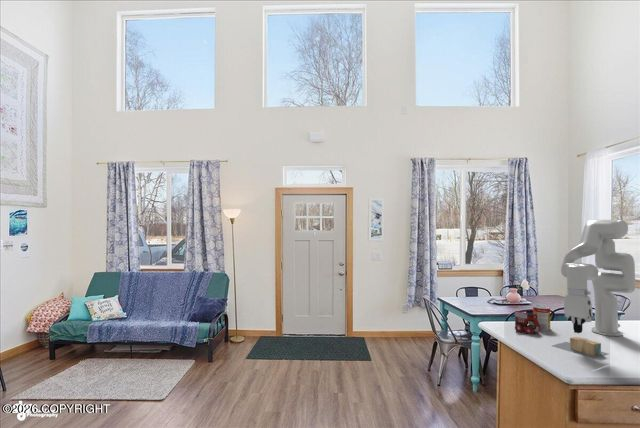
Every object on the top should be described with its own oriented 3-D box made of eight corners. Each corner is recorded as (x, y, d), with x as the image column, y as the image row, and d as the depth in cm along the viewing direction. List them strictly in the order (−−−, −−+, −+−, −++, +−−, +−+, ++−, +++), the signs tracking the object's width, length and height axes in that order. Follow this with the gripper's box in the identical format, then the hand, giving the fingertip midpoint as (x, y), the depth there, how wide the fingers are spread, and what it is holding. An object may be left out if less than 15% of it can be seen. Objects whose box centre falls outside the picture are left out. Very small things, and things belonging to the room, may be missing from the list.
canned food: (547, 327, 200) (546, 305, 200) (552, 331, 192) (552, 308, 193) (531, 326, 202) (531, 304, 202) (536, 330, 194) (536, 308, 194)
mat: (565, 342, 175) (565, 341, 175) (609, 354, 159) (609, 353, 159) (551, 346, 169) (551, 345, 169) (594, 359, 153) (594, 358, 153)
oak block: (576, 336, 167) (601, 342, 158) (576, 347, 167) (601, 354, 158) (570, 337, 165) (595, 344, 156) (570, 348, 165) (595, 356, 156)
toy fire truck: (536, 336, 184) (536, 316, 184) (511, 330, 194) (511, 311, 194) (542, 334, 188) (542, 314, 188) (517, 328, 198) (517, 309, 198)
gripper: (600, 294, 160) (601, 335, 160) (564, 288, 173) (565, 327, 173) (591, 296, 157) (592, 338, 156) (555, 290, 170) (556, 329, 169)
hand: (577, 332), depth 164 cm, fingers closed
